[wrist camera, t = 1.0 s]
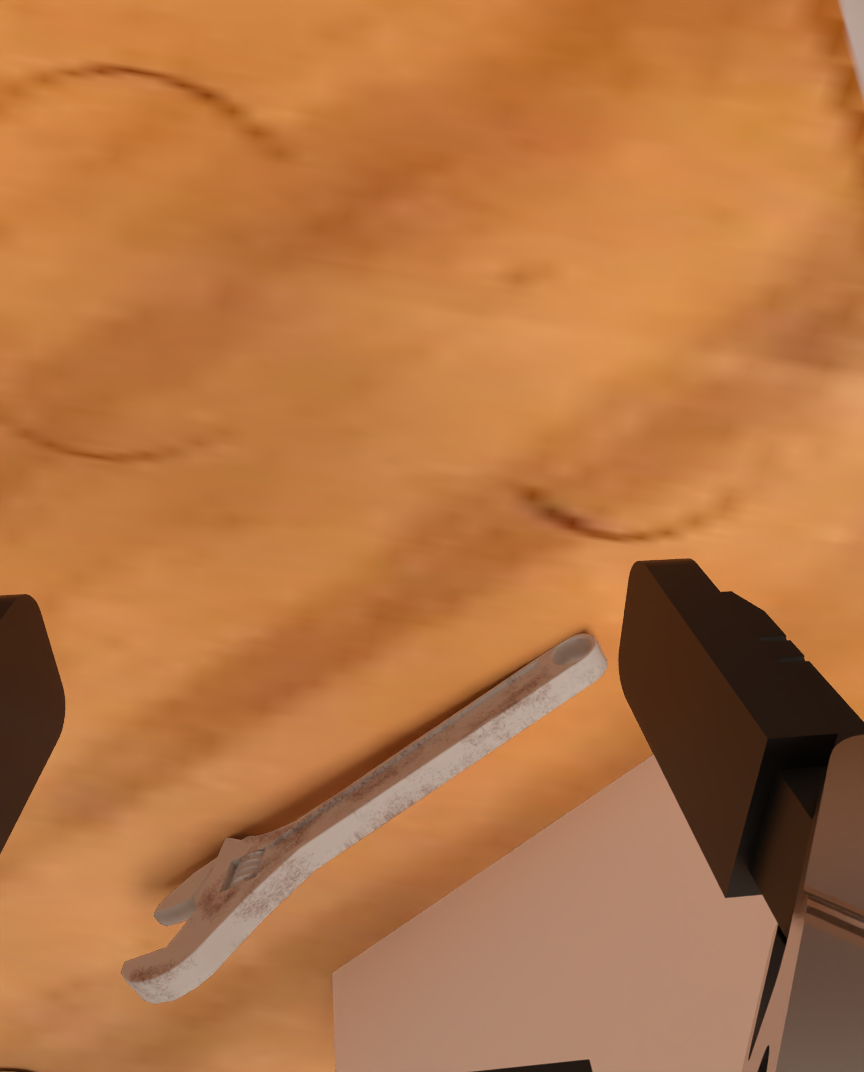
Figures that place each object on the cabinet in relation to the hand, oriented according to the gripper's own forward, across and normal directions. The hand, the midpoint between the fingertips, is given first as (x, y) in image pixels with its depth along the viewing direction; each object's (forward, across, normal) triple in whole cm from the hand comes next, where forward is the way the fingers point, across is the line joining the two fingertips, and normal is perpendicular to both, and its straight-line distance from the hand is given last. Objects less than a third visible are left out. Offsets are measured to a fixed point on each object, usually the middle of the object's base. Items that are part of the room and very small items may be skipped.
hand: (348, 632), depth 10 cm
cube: (+22, +13, -43) cm, 50 cm away
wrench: (+24, 0, -26) cm, 36 cm away
